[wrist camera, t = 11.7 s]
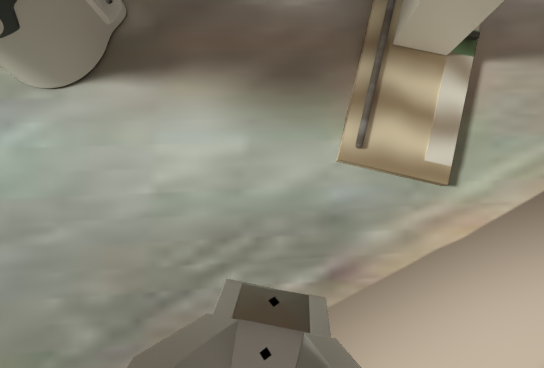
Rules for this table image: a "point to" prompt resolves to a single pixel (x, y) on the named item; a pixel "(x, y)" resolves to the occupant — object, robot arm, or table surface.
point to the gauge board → (405, 103)
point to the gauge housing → (440, 23)
